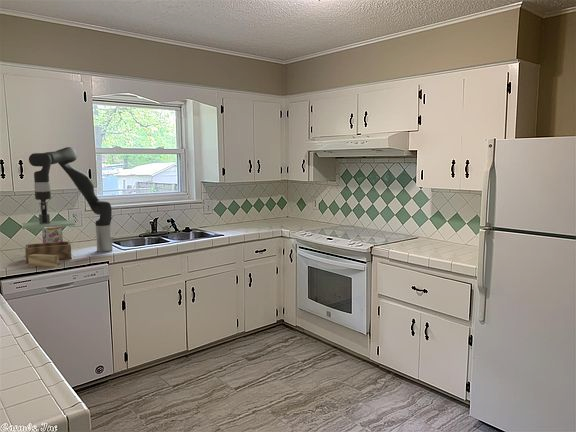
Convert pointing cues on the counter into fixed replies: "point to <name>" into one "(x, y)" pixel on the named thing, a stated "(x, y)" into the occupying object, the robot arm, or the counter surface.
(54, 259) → the tan block
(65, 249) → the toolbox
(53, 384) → the counter surface
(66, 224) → the lid
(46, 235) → the candy bar box
